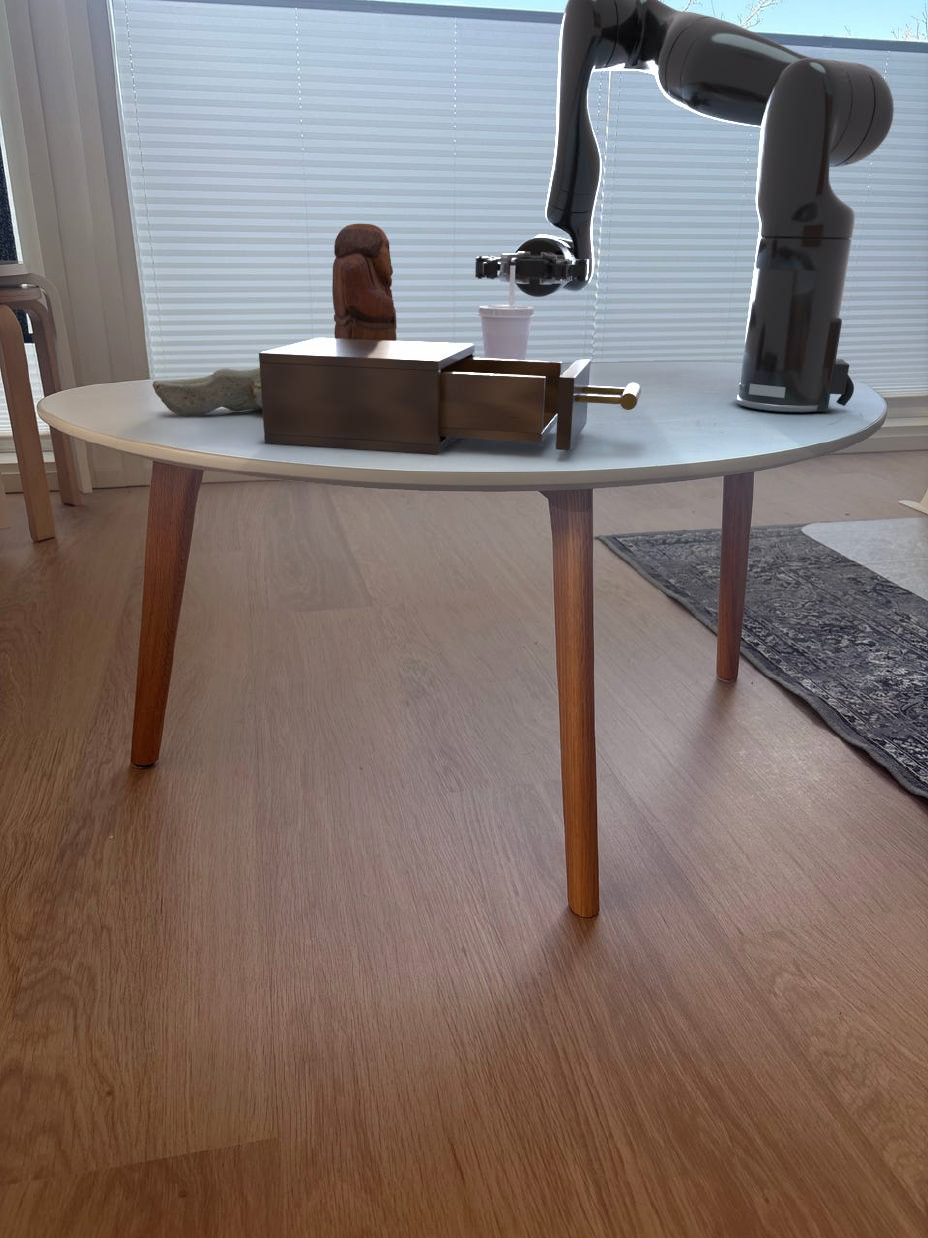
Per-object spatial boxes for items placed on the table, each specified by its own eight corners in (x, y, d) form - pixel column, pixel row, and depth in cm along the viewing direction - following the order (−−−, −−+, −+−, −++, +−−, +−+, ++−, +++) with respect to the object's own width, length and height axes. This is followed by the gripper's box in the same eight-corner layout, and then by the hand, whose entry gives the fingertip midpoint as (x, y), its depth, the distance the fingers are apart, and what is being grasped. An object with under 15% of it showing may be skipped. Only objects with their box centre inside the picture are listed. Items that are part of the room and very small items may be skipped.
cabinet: (473, 425, 90) (474, 343, 87) (437, 454, 78) (438, 360, 75) (321, 416, 93) (317, 337, 90) (264, 442, 81) (258, 352, 78)
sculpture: (160, 430, 89) (314, 411, 93) (150, 379, 88) (308, 362, 91) (159, 421, 96) (304, 404, 100) (150, 373, 94) (298, 358, 98)
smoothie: (527, 399, 105) (532, 266, 100) (471, 396, 106) (473, 265, 101) (534, 391, 111) (540, 265, 105) (481, 388, 112) (484, 264, 107)
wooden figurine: (406, 406, 100) (404, 223, 93) (347, 407, 98) (341, 222, 91) (385, 389, 110) (382, 224, 103) (331, 390, 108) (325, 223, 102)
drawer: (639, 426, 86) (645, 361, 84) (630, 454, 75) (637, 380, 72) (436, 414, 90) (436, 352, 88) (399, 439, 79) (398, 369, 76)
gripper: (493, 235, 128) (467, 235, 113) (597, 237, 125) (584, 238, 110) (491, 293, 131) (466, 300, 116) (593, 296, 128) (579, 304, 113)
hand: (523, 270), depth 113 cm, fingers open, 8 cm apart
